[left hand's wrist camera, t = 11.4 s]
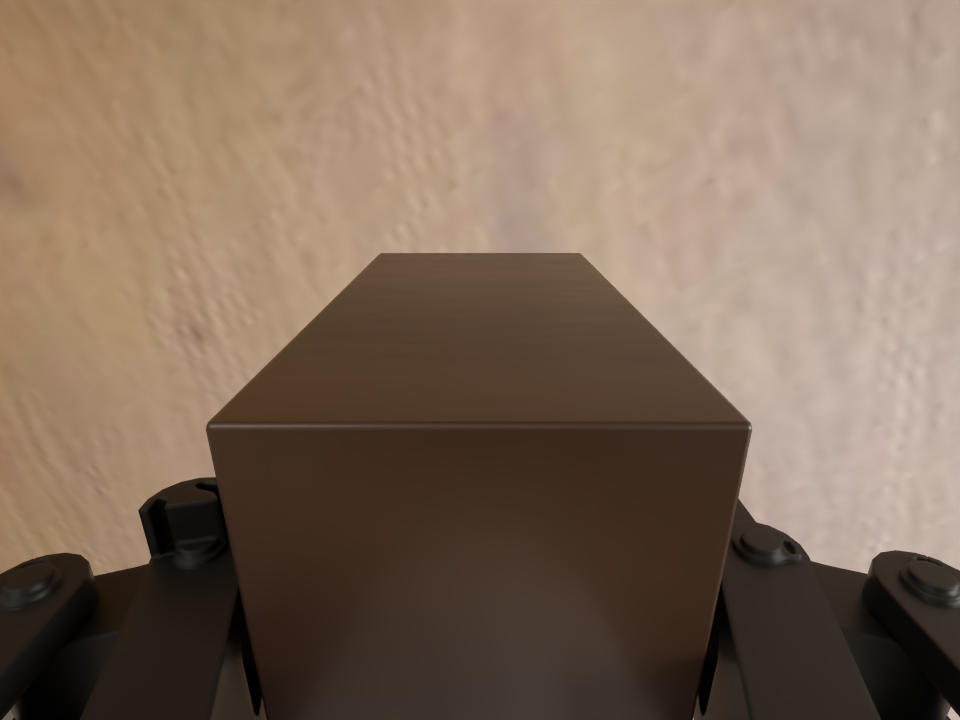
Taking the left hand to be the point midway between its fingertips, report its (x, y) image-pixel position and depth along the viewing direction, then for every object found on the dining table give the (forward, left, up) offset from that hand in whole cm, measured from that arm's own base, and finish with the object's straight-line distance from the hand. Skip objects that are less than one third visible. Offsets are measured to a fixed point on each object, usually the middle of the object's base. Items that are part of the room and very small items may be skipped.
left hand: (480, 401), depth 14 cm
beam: (+11, 0, 0) cm, 11 cm away
